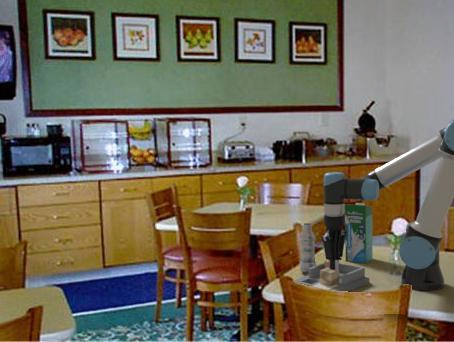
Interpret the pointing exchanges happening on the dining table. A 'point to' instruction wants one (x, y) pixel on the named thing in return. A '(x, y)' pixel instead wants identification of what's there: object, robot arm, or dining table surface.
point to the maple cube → (329, 277)
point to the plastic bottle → (307, 248)
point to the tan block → (327, 264)
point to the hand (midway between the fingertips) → (334, 277)
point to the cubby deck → (348, 278)
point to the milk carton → (358, 233)
